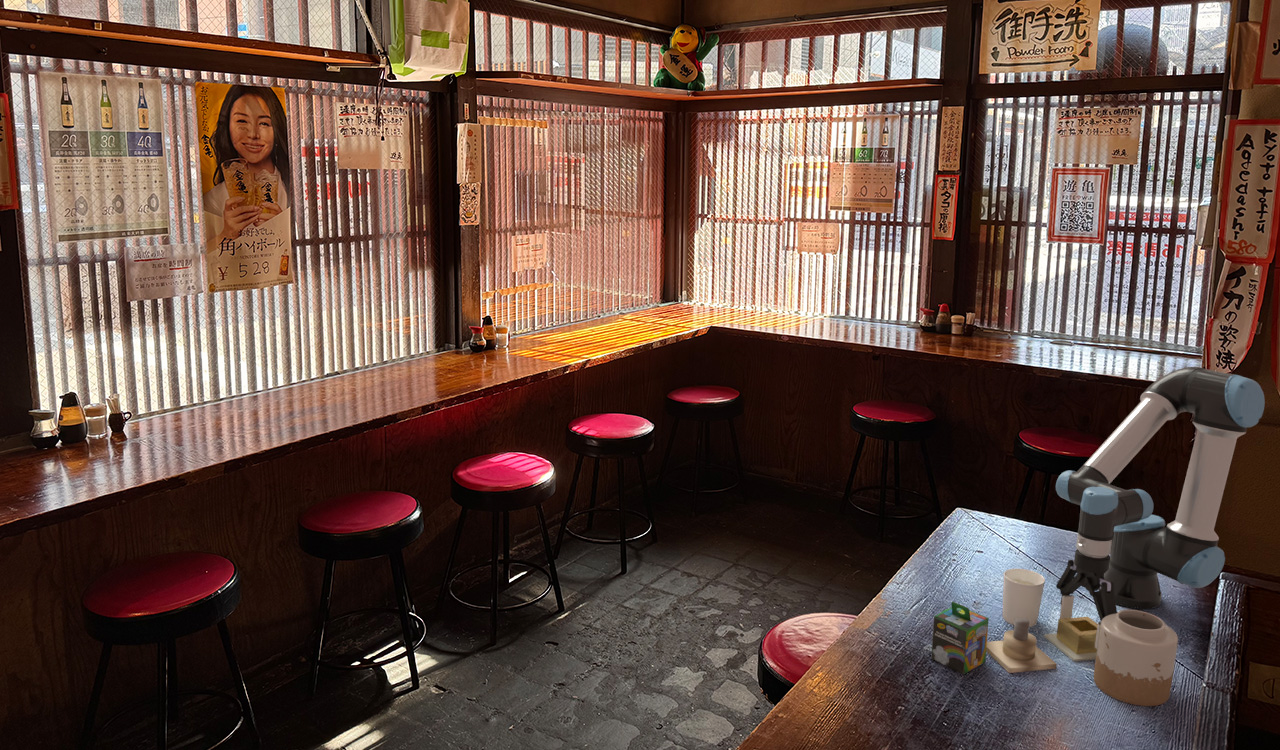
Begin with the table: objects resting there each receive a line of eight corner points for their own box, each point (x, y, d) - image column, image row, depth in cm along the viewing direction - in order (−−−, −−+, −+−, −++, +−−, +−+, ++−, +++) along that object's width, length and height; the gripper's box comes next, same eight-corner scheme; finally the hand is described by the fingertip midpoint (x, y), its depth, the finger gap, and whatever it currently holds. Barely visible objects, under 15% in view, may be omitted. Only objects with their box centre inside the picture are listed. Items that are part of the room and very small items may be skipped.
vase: (1081, 668, 218) (1090, 602, 214) (1148, 670, 217) (1158, 604, 214) (1111, 706, 203) (1121, 636, 199) (1183, 708, 202) (1194, 637, 199)
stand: (1026, 642, 229) (1030, 607, 227) (1056, 668, 218) (1060, 631, 216) (981, 646, 227) (985, 610, 225) (1009, 673, 216) (1013, 635, 213)
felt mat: (1087, 632, 234) (1087, 630, 234) (1119, 657, 223) (1119, 655, 223) (1043, 636, 232) (1044, 634, 232) (1074, 661, 221) (1074, 659, 221)
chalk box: (986, 663, 220) (992, 605, 216) (963, 675, 214) (969, 616, 211) (952, 647, 227) (957, 590, 224) (929, 658, 221) (934, 601, 218)
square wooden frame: (1085, 635, 232) (1087, 616, 231) (1106, 651, 224) (1109, 632, 223) (1056, 637, 230) (1058, 619, 229) (1076, 654, 223) (1079, 635, 222)
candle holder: (1043, 631, 235) (1049, 587, 232) (1002, 626, 237) (1007, 583, 234) (1035, 612, 244) (1040, 570, 242) (996, 609, 246) (1000, 566, 243)
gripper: (1047, 532, 233) (1038, 610, 238) (1113, 575, 209) (1102, 661, 214) (1074, 530, 234) (1064, 608, 239) (1143, 573, 211) (1131, 658, 215)
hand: (1082, 633), depth 227 cm, fingers open, 13 cm apart
